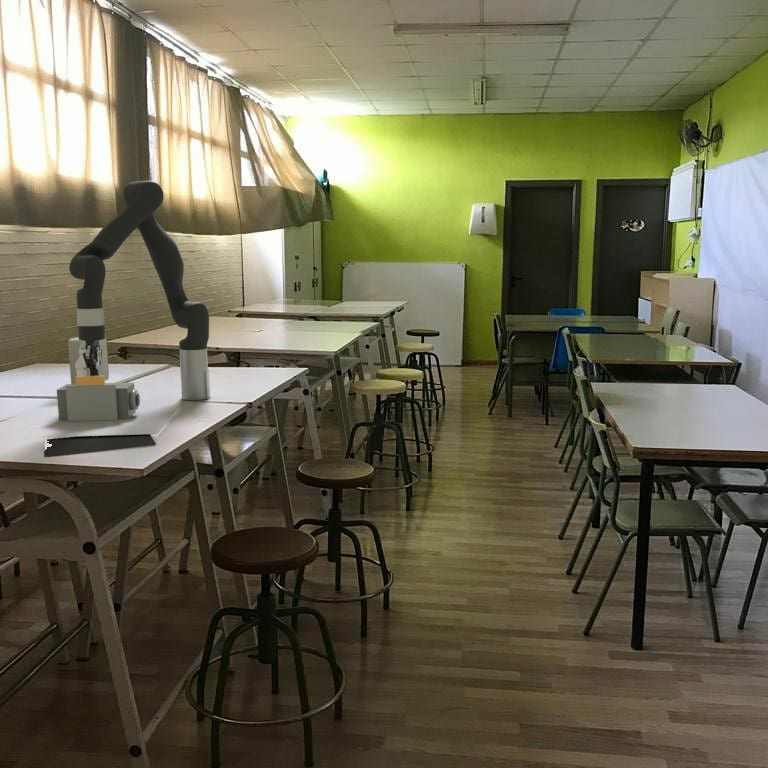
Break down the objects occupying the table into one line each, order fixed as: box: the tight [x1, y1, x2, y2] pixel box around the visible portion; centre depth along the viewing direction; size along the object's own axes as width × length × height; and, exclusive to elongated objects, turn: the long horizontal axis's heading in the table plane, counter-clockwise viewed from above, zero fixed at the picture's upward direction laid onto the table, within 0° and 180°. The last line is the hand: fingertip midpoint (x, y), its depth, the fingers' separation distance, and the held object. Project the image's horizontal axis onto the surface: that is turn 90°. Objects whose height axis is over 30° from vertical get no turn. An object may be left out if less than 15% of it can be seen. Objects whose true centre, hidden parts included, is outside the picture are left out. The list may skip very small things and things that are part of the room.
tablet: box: [43, 433, 157, 458], centre depth 200 cm, size 27×1×20 cm
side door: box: [65, 376, 119, 422], centre depth 222 cm, size 14×1×13 cm, turn 96°
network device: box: [67, 332, 110, 384], centre depth 277 cm, size 26×9×20 cm, turn 179°
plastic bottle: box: [75, 348, 90, 376], centre depth 239 cm, size 6×7×20 cm
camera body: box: [56, 382, 141, 422], centre depth 228 cm, size 22×10×10 cm, turn 96°
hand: (94, 381), depth 226 cm, fingers closed
